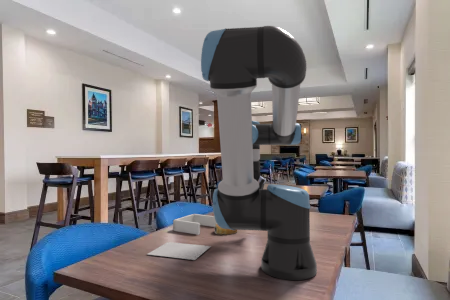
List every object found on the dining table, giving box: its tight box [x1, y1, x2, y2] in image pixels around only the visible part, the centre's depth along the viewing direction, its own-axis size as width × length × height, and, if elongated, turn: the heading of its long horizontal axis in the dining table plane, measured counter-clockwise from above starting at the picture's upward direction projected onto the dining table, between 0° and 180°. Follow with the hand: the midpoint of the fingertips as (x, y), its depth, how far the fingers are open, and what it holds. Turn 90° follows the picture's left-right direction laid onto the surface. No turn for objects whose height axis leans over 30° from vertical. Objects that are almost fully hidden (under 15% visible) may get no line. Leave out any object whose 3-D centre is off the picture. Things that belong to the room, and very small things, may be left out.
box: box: [172, 213, 217, 236], centre depth 127 cm, size 15×13×4 cm
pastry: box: [213, 224, 238, 236], centre depth 121 cm, size 9×7×4 cm
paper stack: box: [147, 241, 212, 261], centre depth 101 cm, size 23×25×1 cm
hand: (250, 220), depth 115 cm, fingers closed
